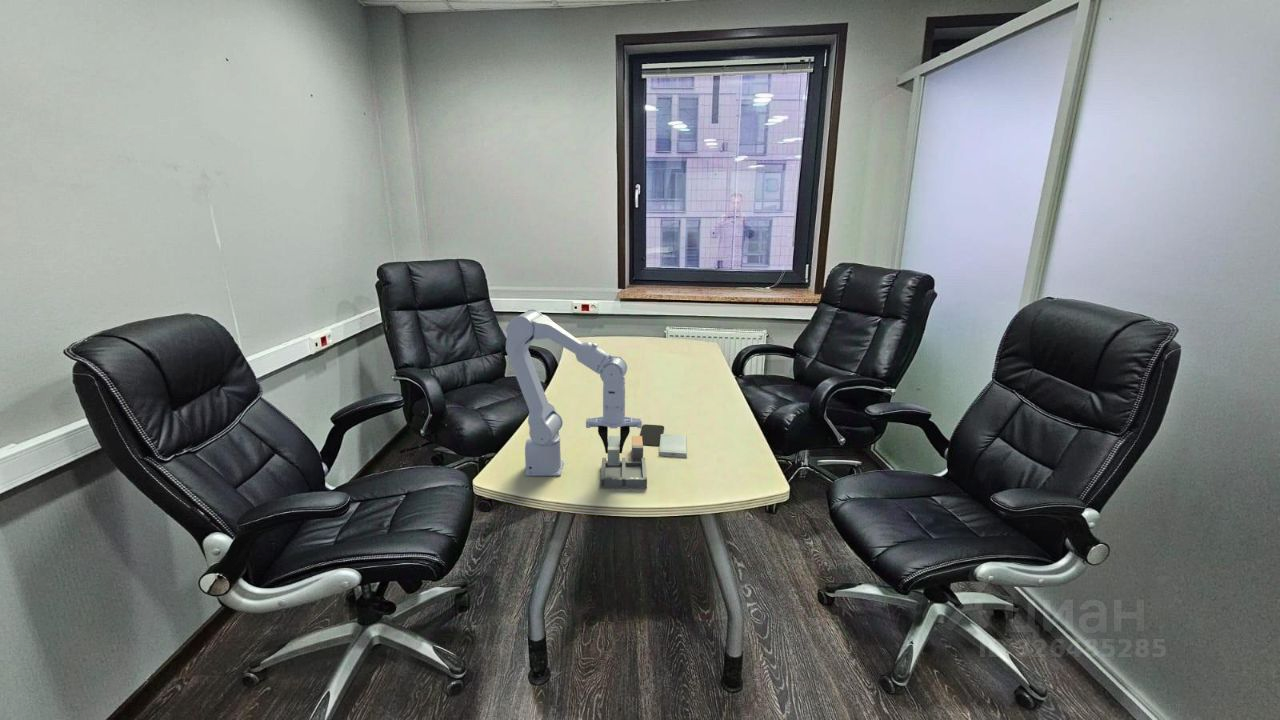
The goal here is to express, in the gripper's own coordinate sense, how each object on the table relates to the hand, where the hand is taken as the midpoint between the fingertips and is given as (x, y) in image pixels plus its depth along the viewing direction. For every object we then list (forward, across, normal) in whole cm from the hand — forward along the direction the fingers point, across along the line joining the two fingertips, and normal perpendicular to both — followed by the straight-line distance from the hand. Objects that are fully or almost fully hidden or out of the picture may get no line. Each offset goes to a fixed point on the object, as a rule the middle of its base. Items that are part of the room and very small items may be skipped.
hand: (613, 451), depth 139 cm
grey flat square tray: (+7, +3, 0) cm, 8 cm away
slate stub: (+2, 0, +1) cm, 2 cm away
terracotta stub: (+8, +7, +12) cm, 16 cm away
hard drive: (+8, +18, +18) cm, 27 cm away
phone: (+8, +12, +26) cm, 30 cm away
